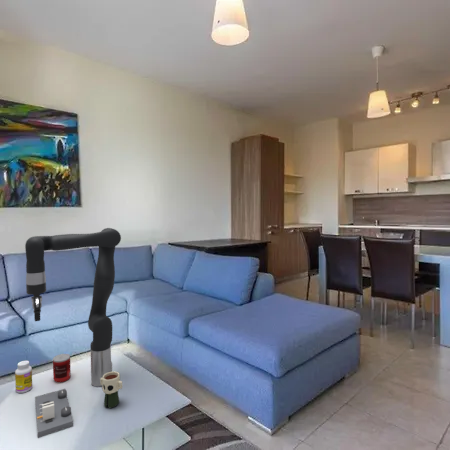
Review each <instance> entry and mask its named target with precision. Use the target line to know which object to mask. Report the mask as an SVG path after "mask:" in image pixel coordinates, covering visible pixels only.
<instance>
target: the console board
mask: <svg viewBox="0 0 450 450" xmlns="http://www.w3.org/2000/svg"><path fill="white" fill-rule="evenodd" d="M67 391H68V390H66V388H63V389H59V390H54V391H52V392H48V393H45V394H40V395H37V396H35V397H34V401H35V404H34V405H35V415H36V417H35V418H36V428H37V429H36V430H37V438H41V437H43V436H48V435H50V434H53V433H57V432H59V431H63V430H65V429H68V428H72V427H74V419H73V415H72V407H71V406H70V402H69V398H68V392H67ZM53 401H54V416H55V417H54V418H51V419H47V420H44V421H43V416H42V404H46V403H49V402H53Z"/></svg>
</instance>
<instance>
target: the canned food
mask: <svg viewBox="0 0 450 450" xmlns="http://www.w3.org/2000/svg"><path fill="white" fill-rule="evenodd" d="M52 371H53V373H52V374H53V375H52V376H53V381H54V383H59V384H61V383H64V382H67V381H68V380H70V378H71V374H72V373H71V372H72V371H71V355H70V354H68V353H60V354H57V355H55V356H54V357H53V358H52Z"/></svg>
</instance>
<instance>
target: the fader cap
mask: <svg viewBox="0 0 450 450" xmlns="http://www.w3.org/2000/svg"><path fill="white" fill-rule="evenodd" d="M42 416H43V421H44V420H47V419H51V418H54V417H55V416H54V401H53V402H49V403H46V404H42Z"/></svg>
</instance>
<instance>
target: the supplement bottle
mask: <svg viewBox="0 0 450 450" xmlns="http://www.w3.org/2000/svg"><path fill="white" fill-rule="evenodd" d="M14 376H15V381H14V384H15V392H16V393H18V394H22V393H23V394H24V393H26V392H29V391H31V389H33V368H32V366H31V365H30V361H29V360H22V361H19V362H18V363H17V369H15V371H14Z"/></svg>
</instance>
